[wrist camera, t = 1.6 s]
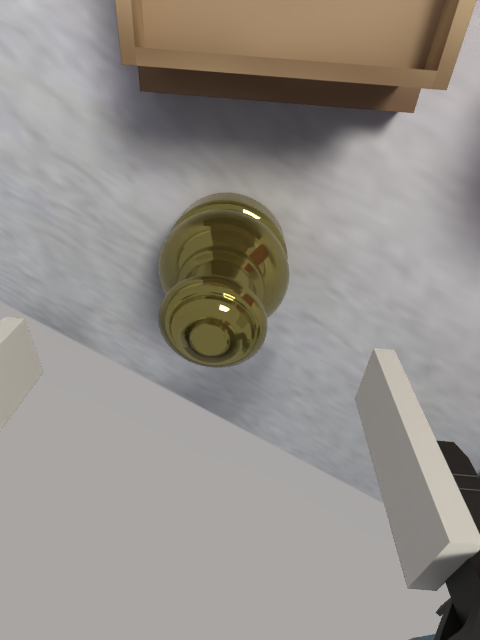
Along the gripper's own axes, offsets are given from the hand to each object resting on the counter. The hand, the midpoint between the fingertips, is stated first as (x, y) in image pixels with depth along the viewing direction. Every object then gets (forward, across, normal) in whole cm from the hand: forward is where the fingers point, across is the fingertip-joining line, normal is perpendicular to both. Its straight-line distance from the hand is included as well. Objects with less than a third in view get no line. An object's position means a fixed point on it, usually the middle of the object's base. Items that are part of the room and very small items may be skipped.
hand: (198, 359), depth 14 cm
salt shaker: (+12, 0, 0) cm, 12 cm away
